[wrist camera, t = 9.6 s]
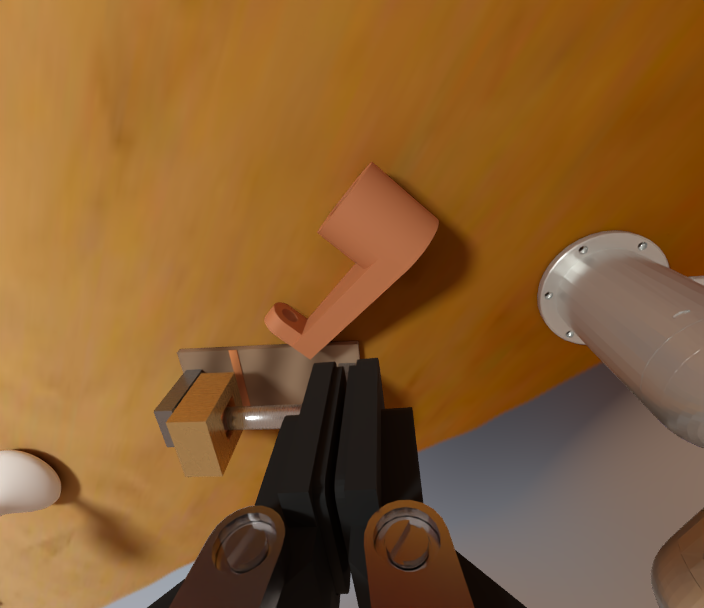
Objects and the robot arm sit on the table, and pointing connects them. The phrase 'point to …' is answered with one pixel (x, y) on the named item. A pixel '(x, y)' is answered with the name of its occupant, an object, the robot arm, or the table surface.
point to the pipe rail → (227, 409)
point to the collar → (205, 425)
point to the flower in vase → (26, 483)
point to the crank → (360, 257)
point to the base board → (267, 368)
